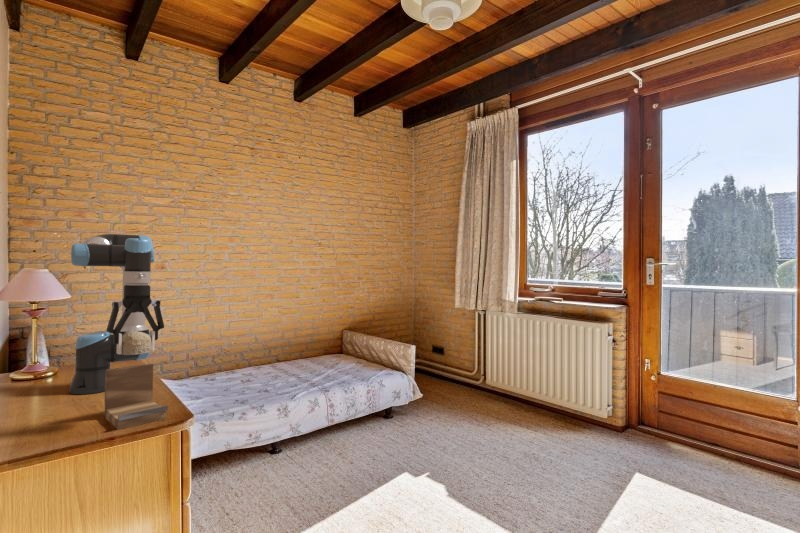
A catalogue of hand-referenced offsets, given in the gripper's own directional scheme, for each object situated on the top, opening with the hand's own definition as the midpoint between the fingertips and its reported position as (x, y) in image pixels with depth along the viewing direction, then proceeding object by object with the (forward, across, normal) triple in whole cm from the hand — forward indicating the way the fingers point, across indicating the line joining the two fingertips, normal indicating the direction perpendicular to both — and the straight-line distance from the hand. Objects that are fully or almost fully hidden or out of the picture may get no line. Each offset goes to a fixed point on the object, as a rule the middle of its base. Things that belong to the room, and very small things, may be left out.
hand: (135, 351), depth 140 cm
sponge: (0, 0, 0) cm, 0 cm away
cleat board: (+23, +1, +1) cm, 23 cm away
